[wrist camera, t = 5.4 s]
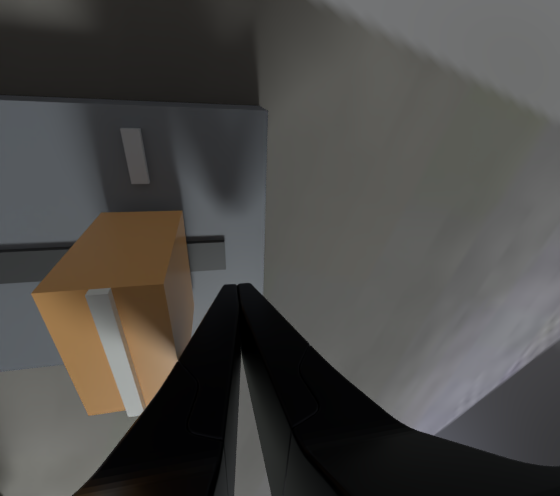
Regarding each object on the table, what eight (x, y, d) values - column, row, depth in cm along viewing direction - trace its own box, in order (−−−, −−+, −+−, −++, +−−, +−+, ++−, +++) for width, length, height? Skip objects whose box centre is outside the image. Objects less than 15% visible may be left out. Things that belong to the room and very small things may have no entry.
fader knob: (194, 305, 11) (184, 408, 8) (128, 311, 11) (85, 423, 7) (182, 210, 9) (161, 290, 6) (101, 212, 9) (24, 299, 5)
